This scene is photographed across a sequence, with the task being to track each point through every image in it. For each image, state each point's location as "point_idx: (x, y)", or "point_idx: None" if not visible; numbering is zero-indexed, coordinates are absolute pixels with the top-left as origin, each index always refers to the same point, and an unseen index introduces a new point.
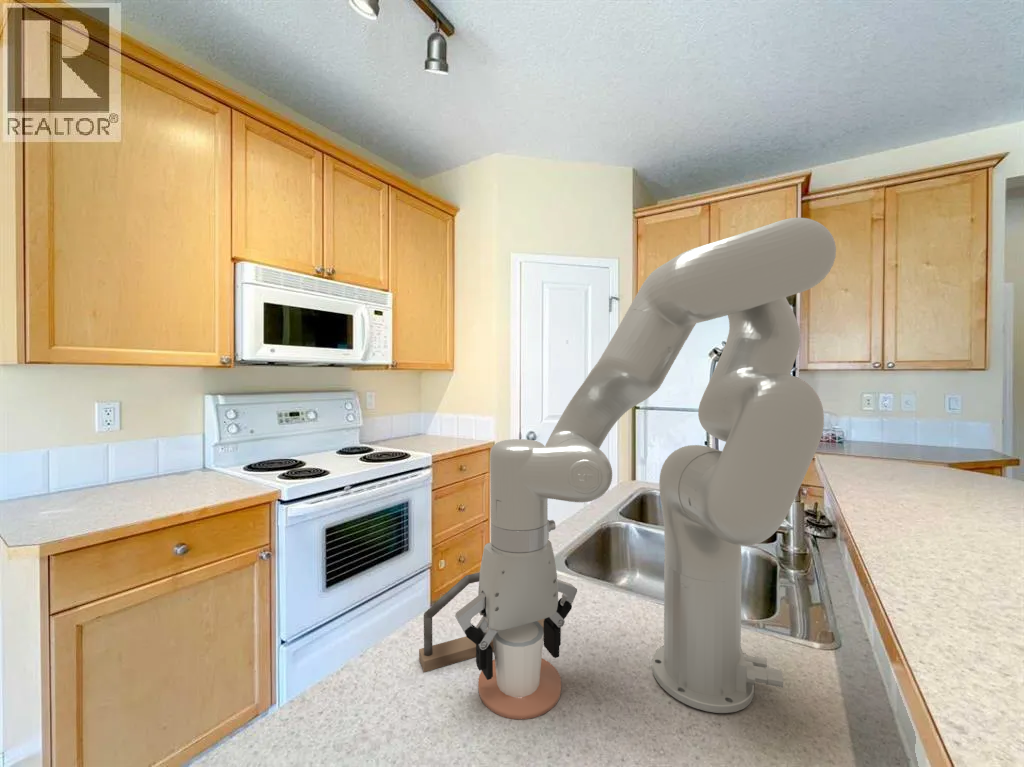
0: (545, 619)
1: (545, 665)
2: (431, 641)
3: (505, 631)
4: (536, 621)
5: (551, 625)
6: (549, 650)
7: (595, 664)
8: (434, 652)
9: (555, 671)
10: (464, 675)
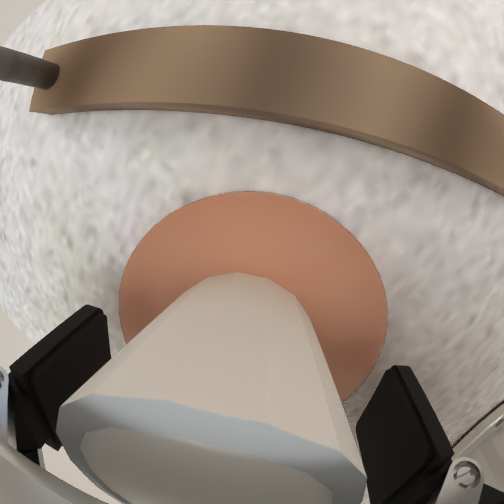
0: (430, 463)
1: (366, 333)
2: (22, 78)
3: (126, 470)
4: (355, 501)
5: (396, 497)
6: (370, 409)
7: (463, 363)
8: (61, 78)
9: (367, 366)
10: (122, 181)
